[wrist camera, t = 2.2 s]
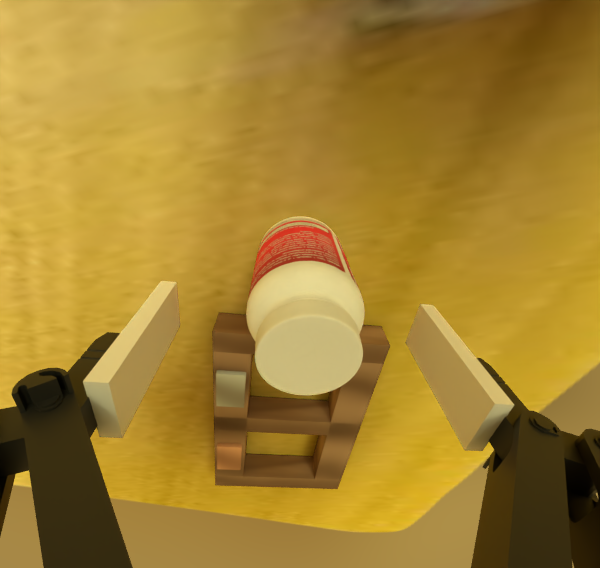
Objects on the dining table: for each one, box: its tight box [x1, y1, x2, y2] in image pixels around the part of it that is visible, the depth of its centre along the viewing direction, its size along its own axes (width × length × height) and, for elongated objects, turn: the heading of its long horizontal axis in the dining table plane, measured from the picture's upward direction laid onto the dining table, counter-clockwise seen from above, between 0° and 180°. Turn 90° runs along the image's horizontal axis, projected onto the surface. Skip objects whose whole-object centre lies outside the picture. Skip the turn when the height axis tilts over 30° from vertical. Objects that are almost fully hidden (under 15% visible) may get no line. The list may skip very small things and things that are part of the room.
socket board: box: [213, 313, 390, 489], centre depth 29 cm, size 22×14×3 cm, turn 172°
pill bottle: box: [246, 216, 365, 395], centre depth 17 cm, size 6×6×11 cm
